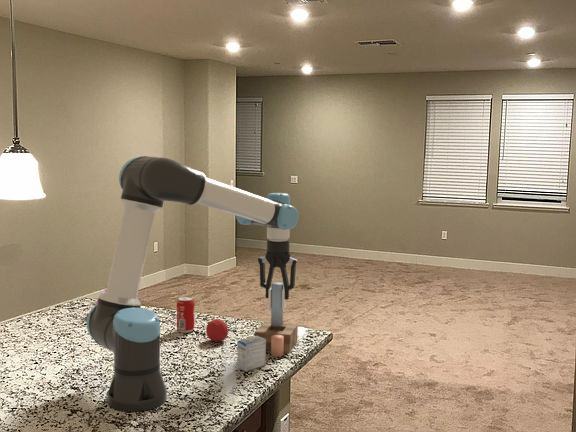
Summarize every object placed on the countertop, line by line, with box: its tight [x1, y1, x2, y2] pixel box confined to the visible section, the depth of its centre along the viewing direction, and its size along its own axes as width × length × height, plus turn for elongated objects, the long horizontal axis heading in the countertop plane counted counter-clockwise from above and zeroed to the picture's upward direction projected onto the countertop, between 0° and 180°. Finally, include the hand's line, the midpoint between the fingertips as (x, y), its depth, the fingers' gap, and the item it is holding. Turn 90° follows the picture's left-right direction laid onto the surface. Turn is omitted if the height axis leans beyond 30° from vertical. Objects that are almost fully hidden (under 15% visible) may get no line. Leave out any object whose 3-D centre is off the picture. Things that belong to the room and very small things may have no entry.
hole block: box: [254, 321, 299, 354], centre depth 211 cm, size 12×12×6 cm
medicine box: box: [236, 335, 267, 372], centre depth 190 cm, size 8×4×9 cm, turn 134°
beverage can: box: [176, 296, 195, 334], centre depth 225 cm, size 6×6×12 cm
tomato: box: [205, 318, 229, 343], centre depth 215 cm, size 8×8×8 cm
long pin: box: [270, 282, 284, 326], centre depth 210 cm, size 4×4×14 cm
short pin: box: [270, 335, 284, 358], centre depth 202 cm, size 4×4×6 cm
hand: (277, 308), depth 210 cm, fingers closed on long pin, 4 cm apart
